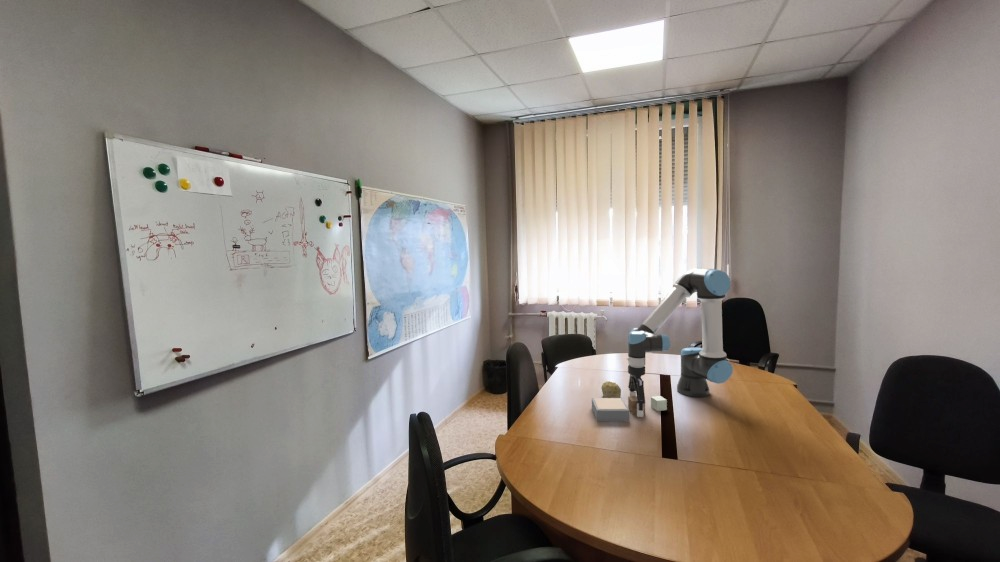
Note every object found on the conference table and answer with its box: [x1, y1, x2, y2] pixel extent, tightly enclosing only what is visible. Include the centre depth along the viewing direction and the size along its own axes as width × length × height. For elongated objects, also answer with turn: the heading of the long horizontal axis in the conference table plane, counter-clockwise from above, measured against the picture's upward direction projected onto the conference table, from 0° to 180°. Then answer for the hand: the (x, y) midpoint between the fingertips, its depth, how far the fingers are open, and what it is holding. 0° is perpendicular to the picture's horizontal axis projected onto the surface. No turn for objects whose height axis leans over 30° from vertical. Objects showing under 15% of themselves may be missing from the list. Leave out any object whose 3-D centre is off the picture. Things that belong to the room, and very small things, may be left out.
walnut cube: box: [627, 395, 646, 415], centre depth 180 cm, size 6×6×6 cm
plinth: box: [591, 397, 630, 422], centre depth 177 cm, size 14×14×5 cm
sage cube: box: [650, 395, 668, 412], centre depth 182 cm, size 5×5×5 cm
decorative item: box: [600, 381, 622, 398], centre depth 198 cm, size 10×10×10 cm
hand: (636, 410), depth 180 cm, fingers open, 12 cm apart
